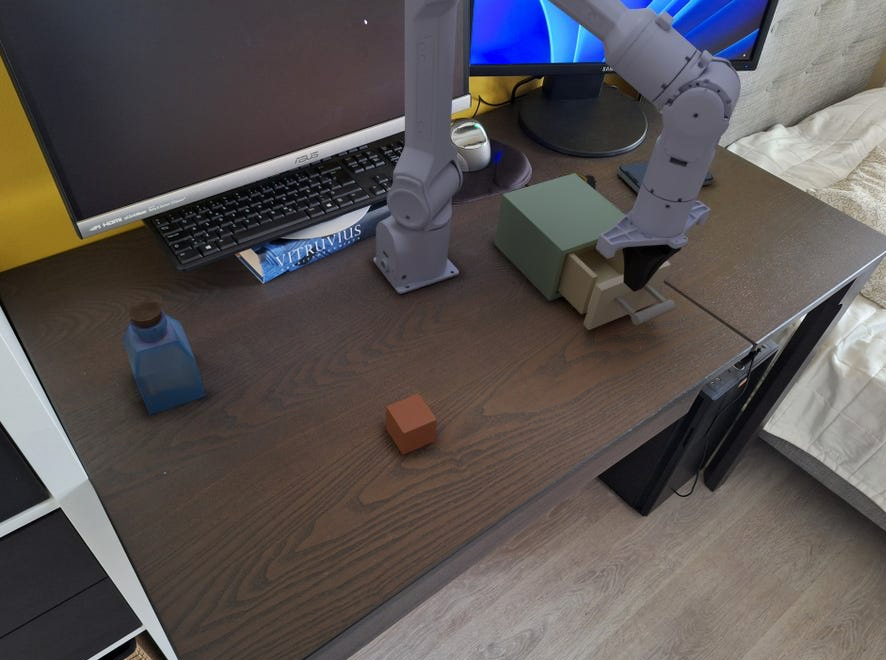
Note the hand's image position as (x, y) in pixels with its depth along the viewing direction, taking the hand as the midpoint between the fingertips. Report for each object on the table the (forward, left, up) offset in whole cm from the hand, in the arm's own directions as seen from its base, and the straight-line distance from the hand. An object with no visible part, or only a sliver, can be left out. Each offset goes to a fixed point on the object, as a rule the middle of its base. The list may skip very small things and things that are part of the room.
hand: (632, 285), depth 79 cm
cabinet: (+3, +16, -9) cm, 19 cm away
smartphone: (+33, +25, -10) cm, 43 cm away
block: (-30, -1, -9) cm, 32 cm away
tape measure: (+15, +26, -10) cm, 32 cm away
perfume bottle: (-51, +17, -10) cm, 55 cm away
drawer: (+3, +6, -8) cm, 11 cm away
